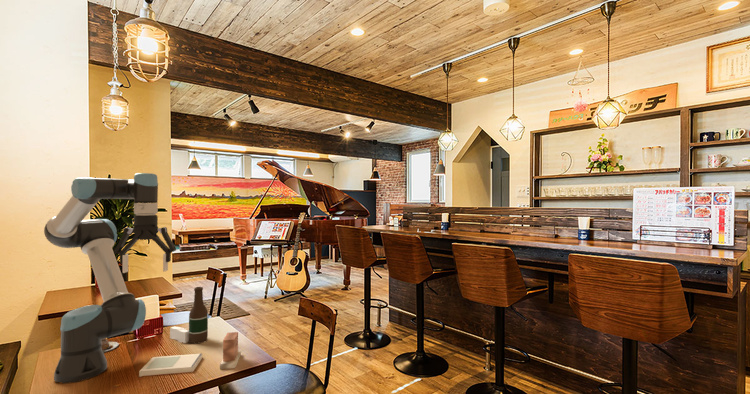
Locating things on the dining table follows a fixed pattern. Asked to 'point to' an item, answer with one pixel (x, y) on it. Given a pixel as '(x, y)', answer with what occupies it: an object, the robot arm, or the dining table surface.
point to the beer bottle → (198, 319)
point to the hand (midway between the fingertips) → (145, 271)
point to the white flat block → (171, 364)
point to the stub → (230, 351)
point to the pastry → (108, 345)
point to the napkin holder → (179, 334)
